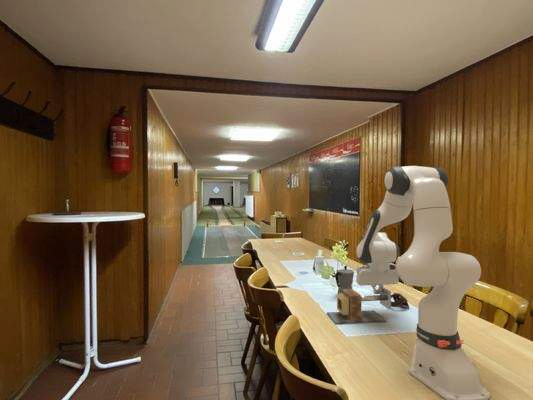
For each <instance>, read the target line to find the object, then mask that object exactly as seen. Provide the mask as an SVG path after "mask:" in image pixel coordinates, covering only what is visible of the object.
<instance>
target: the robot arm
mask: <svg viewBox="0 0 533 400" xmlns="http://www.w3.org/2000/svg"><path fill="white" fill-rule="evenodd" d="M383 179H384V180H383V183H384V188H385V190H386V192H385V195H384V199H383V201H382V203H381V205H380V206H379V208H378V209H376V210H374V211H373V212H372V213H371V215H370V217H369V220H368V222H367V224H366V227H365V230H364V232H363V235H362V236H361V239H360V241H359V242H358V244H357V245H356V249H355V254H356V258H357V259H358V260H359V261H360V262H362V264H364V265H359V266H358V267H357V268H356V277H355V278H356V279H355V280H356V281H355V282H356V283H357V285H359V286H361V287H362V286H363V287H364V286H371V288H372V289H373V294H374V295H380V294H381V290H382V288H383V287H384V286H386V285H398V284H399V280H401V281H402V282H403V283H404V284H406V285H410V286H415V287H421V288H422V287H423V288H424V287H427V288H428V287H433V288H432V290H430V291H429V293H428V294H426V295H425V296H422V298H421V299H420V300H419V302H418V306H417V308H418V309H417V310H418V311H417V312H418V313H417V315H418V316H417V322H418V323H417V324H416V328H415V329H416V337H417V338H416V339H417V340H416V342H415V344H414V346H413V353H412V360H411V366H410V367H409V368H408V373H409V374H411V376H413V377H414V378H416V379H417V380H418V381H420V382H421V383H423V384H424V385H425V386H426V387H428V388H429V389H431V390H432V391H434V392H435V393H436V394H438V395H439V396H440V397H442V398H443V399H444V400H489V399H490V398H491V393H490V392H489V391H488V389H486V387H484V386H483V385H482V384H481V380H480V374H479V371H478V370H477V364H476V363H475V362H473V361H471V360H470V357H469V356H468V355H467V353H466V352H465V351H464V349H463V348H462V345H464V340H463V339H462V340H461V338H460V335H459V331H458V315H459V308H460V304H461V302H462V300H463V298H464V296H465V294H466V293H467V291H469V289H470V288H471V287H472V286H474V285H476V284H477V283H478V282H479V280H480V278H481V275H482V266H481V265H480V262H479V261H478V260H477V258H476V257H475V256H473V255H471V254H469V253H468V254H467V253H464V252H459V251H458V252H457V251H440V245H441V243H442V242H443V241H444V240H446V239H448V238H449V237H450V236H451V235H452V234H453V231H454V227H453V219H452V217H453V216H452V210H451V203H450V199H449V193H448V191H447V187H448V185H449V176H448V174H447V172H446V171H445V169H443V168H440V167H435V166H433V167H432V166H431V167H429V166H421V165H420V166H418V165H408V166H407V165H405V166H401V165H397V166H392V167H390V168H388V170H387V171H386V172H385V174H384V178H383ZM412 209H413V224H414V233H413V234H414V235H413V239H412V242H411V244H410V246H409V247H408V248H407V250H406V251H405V252H404V253H403V254H402V255H401V256H400V247H399V246H398V244H397V243H395V242H394V241H392V240H390V239H389V238H388V234H387V232H384V231H380V230H381V229H382V228H384V227H386V226H389V225H392V224H395V223H399V222H401V221H404V220H405V219H406V218H407V217H409V215H410V213H411V211H412ZM397 260H398V261H397ZM396 261H397V264H394V263H395V262H396ZM366 263H368V265H366ZM377 286H378V288H377Z"/></svg>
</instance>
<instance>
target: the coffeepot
mask: <svg viewBox="0 0 533 400" xmlns="http://www.w3.org/2000/svg"><path fill="white" fill-rule="evenodd" d="M354 275H355V271H354V269H348V266H347V265H344V266H343V268H342V269H338V270H337V271H336V273H335V275H334V278H335V282H336V285H337V287H338V289H337V293H336V295H337V294H338V293H343V289H353V286H352V285H353V281H354Z"/></svg>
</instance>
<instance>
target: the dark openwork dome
mask: <svg viewBox="0 0 533 400" xmlns="http://www.w3.org/2000/svg"><path fill="white" fill-rule="evenodd" d="M391 299H392V300H393V301H392V300H391V308H397V307H407V308H408V310H410V305H409V302H408V299H407V298H406V297H405V296H403V294H402V293H399V292H398V293H397V292H394V293H391Z"/></svg>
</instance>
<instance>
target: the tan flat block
mask: <svg viewBox="0 0 533 400" xmlns="http://www.w3.org/2000/svg"><path fill="white" fill-rule="evenodd" d="M337 293H338V292H337ZM337 293H336V309H337V311H338V312H340V313H341V314H342V315H349V298H348V297H347V296H346V295H344V294H343V293H338V294H337Z"/></svg>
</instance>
